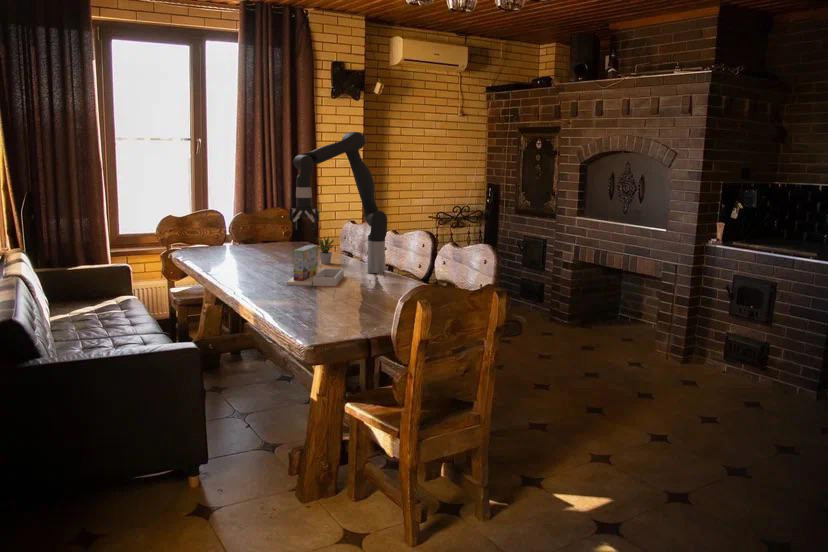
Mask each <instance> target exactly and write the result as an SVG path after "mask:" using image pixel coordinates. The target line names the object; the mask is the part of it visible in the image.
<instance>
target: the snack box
mask: <svg viewBox="0 0 828 552" xmlns="http://www.w3.org/2000/svg"><path fill="white" fill-rule="evenodd" d="M317 246H318V245H315V244H307V245H304V246H302V247H298V248H297V249H294V250H293V277H294V280H296V281H304V280H306V279H308V278H310V277H312V276H314V275H316V274H317V273H318V247H317Z"/></svg>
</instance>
